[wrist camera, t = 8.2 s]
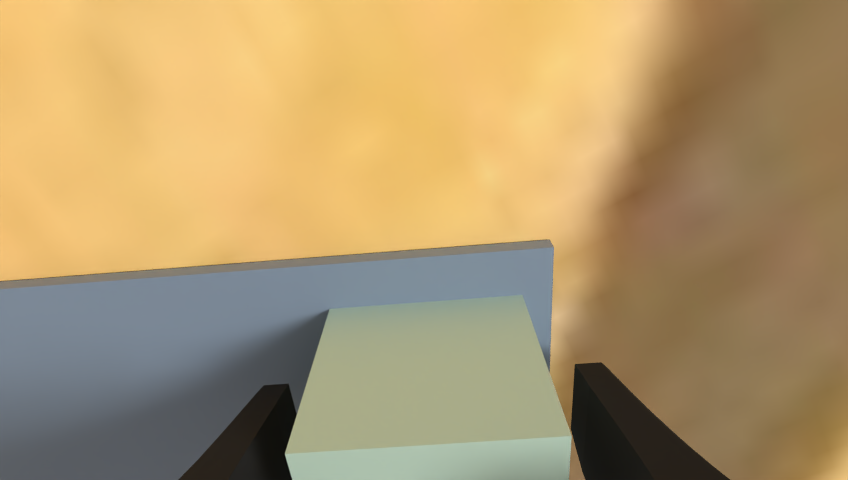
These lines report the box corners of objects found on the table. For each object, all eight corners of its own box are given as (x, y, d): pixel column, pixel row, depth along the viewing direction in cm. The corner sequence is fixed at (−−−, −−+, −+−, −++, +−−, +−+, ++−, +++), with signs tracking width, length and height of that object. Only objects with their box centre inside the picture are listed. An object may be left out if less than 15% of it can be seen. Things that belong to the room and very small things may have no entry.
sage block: (357, 446, 14) (331, 615, 10) (329, 308, 12) (284, 453, 8) (522, 436, 13) (560, 604, 10) (522, 294, 12) (571, 436, 8)
